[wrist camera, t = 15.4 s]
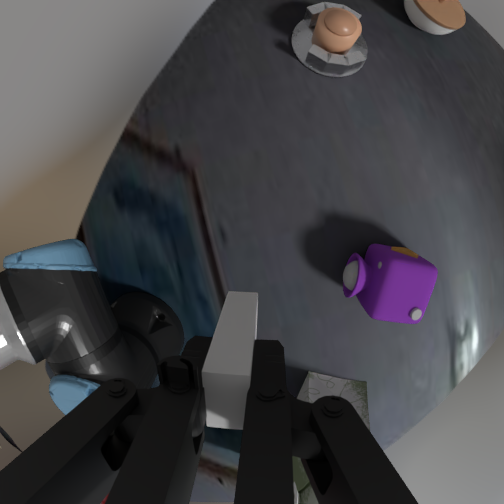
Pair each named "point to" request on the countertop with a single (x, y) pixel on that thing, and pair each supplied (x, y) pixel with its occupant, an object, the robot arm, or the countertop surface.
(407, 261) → the toy camera
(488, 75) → the countertop surface
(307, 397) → the grocery bag
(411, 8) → the lidded jar
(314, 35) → the tan tapered cylinder
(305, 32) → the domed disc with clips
